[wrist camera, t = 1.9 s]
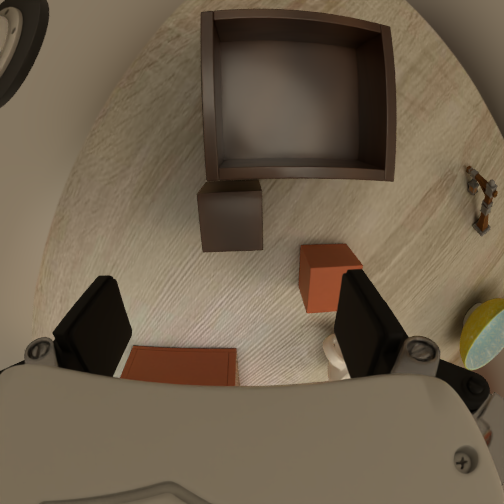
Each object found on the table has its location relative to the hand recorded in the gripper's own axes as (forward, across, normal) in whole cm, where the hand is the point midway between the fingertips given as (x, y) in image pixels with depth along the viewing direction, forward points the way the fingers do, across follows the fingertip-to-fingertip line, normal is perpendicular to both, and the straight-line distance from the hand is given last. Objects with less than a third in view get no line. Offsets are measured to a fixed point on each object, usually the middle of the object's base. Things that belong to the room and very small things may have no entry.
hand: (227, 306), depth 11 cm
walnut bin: (+14, -4, -9) cm, 17 cm away
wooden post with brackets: (+14, -26, -1) cm, 29 cm away
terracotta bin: (+14, +8, +22) cm, 27 cm away
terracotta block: (+14, -8, +6) cm, 17 cm away
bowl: (+14, -34, +16) cm, 40 cm away
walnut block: (+14, 0, 0) cm, 14 cm away
